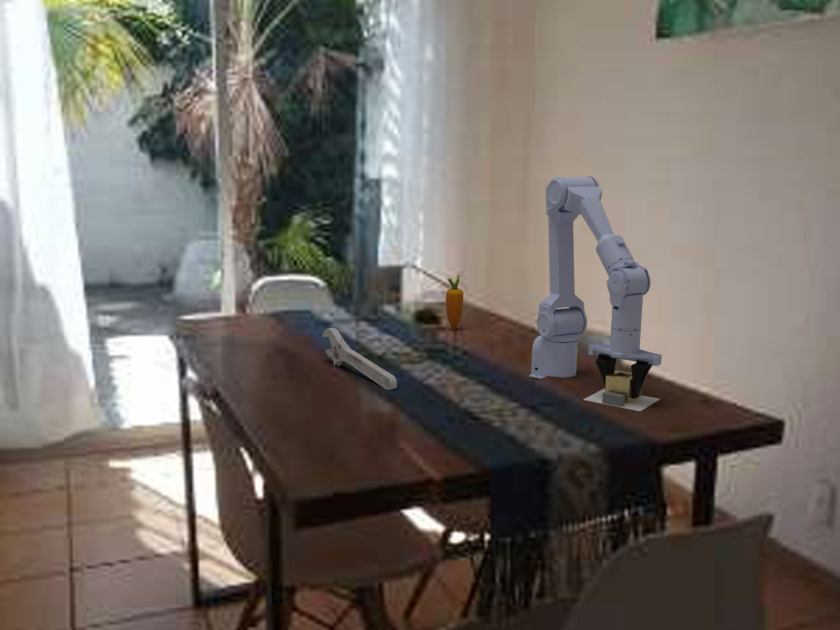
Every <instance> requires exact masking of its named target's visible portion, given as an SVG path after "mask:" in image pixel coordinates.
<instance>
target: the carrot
mask: <svg viewBox="0 0 840 630" xmlns="http://www.w3.org/2000/svg"><path fill="white" fill-rule="evenodd" d="M460 279H461V275H459V274H457V275H456V280H455V281H453V280H452V278H451V277H448V278H447V279H446V280H447V282H448V283H449V284H450V286H451V288H449V289H447V290H446V293H445V309H446V315H447V320H448V322H449V325H450V327H451V329H452V330H453V331H456V329H457V327H458V326H459V324H460V321H461V318H462V315H463V314H462V313H463V307H464V290H463V289H461V288H459V283H460Z"/></svg>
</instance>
